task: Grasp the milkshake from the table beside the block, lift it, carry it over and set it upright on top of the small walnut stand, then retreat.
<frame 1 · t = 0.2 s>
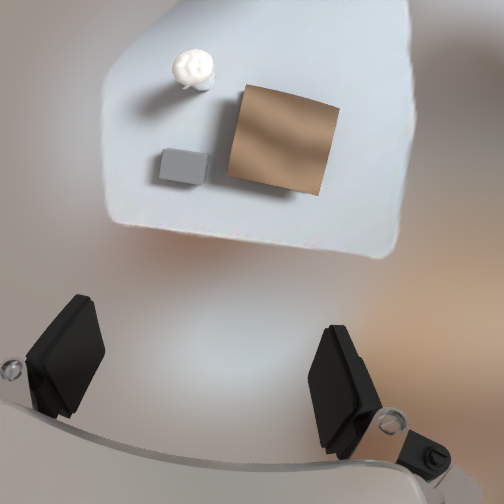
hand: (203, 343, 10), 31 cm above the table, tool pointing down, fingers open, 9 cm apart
block: (187, 164, 37), on the table
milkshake: (203, 83, 32), on the table
stand: (280, 139, 35), on the table
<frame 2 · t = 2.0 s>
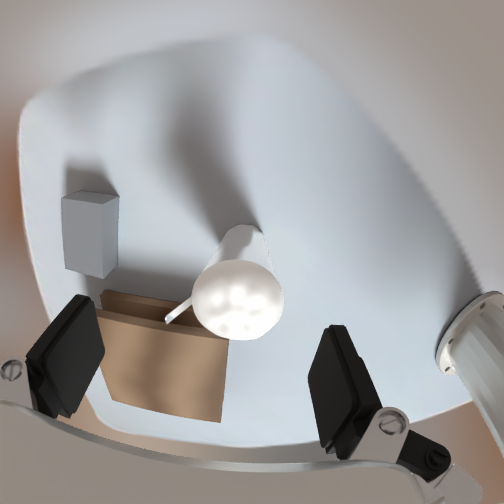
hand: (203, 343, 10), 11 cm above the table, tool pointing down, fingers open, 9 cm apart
block: (99, 227, 21), on the table
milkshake: (239, 242, 21), on the table
stand: (167, 349, 25), on the table
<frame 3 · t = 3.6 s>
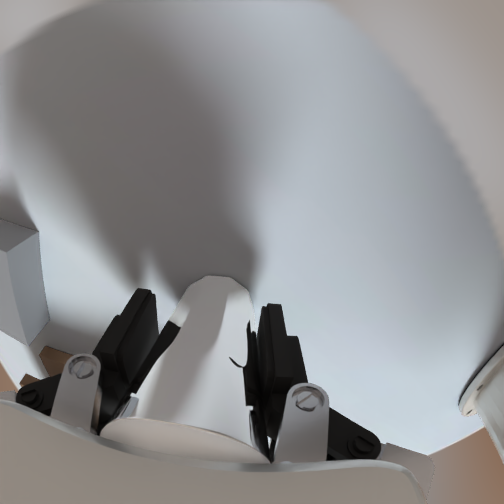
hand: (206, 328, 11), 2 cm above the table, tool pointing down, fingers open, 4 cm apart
block: (23, 269, 12), on the table
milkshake: (210, 301, 13), on the table, touching gripper
stand: (131, 415, 17), on the table
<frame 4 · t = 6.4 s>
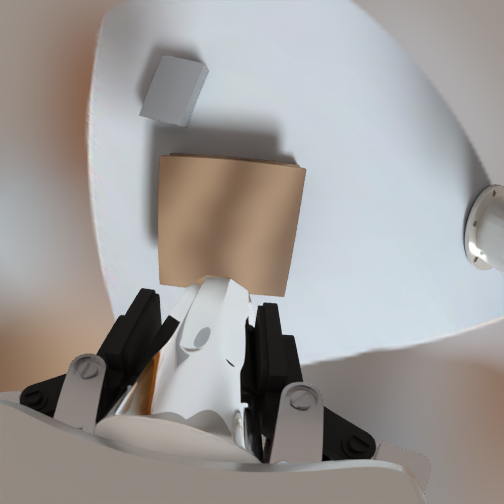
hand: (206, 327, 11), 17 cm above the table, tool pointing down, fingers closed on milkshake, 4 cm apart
block: (178, 93, 22), on the table
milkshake: (210, 301, 13), point 15 cm above the table, touching gripper
stand: (228, 217, 27), on the table
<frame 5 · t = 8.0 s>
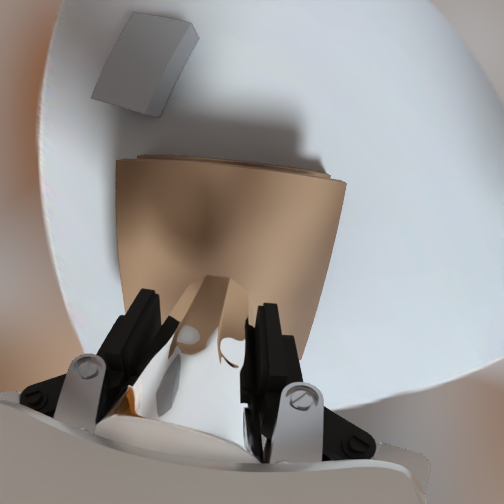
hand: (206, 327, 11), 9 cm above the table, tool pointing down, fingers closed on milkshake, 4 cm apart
block: (153, 69, 14), on the table
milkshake: (210, 301, 13), point 7 cm above the table, touching gripper
stand: (224, 248, 19), on the table
when the fingers open (7 cm above the table, at t = 9.0 s): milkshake drops 1 cm, resting on stand.
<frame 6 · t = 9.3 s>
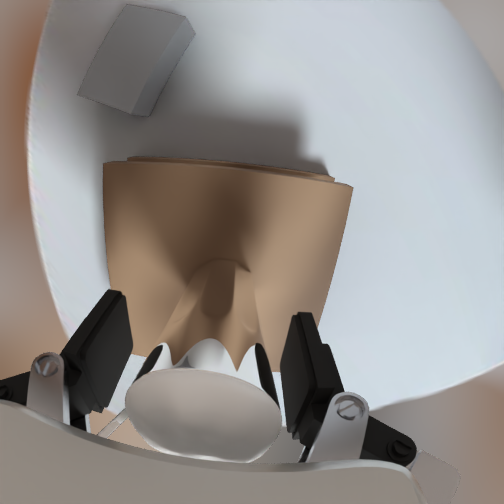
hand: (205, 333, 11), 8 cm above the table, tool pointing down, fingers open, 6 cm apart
block: (145, 65, 13), on the table
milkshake: (215, 284, 14), point 4 cm above the table, touching stand
stand: (221, 256, 18), on the table
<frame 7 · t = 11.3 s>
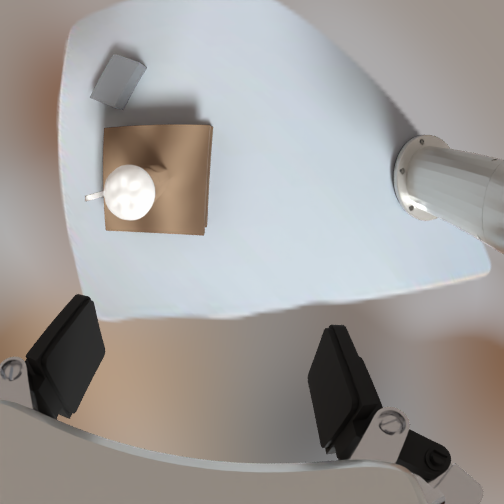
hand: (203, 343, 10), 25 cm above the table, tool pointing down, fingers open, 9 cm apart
block: (123, 83, 26), on the table
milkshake: (152, 178, 28), point 4 cm above the table, touching stand
stand: (160, 175, 31), on the table
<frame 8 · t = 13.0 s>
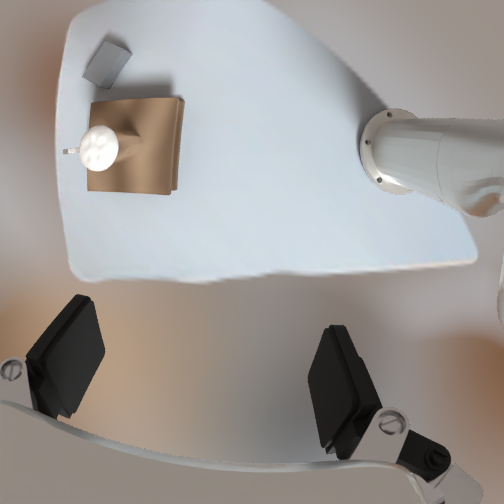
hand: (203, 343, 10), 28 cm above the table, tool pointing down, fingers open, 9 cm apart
block: (111, 66, 28), on the table
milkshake: (127, 144, 29), point 4 cm above the table, touching stand
stand: (138, 144, 33), on the table
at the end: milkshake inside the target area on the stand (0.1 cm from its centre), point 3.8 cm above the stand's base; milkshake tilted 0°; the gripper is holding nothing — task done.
